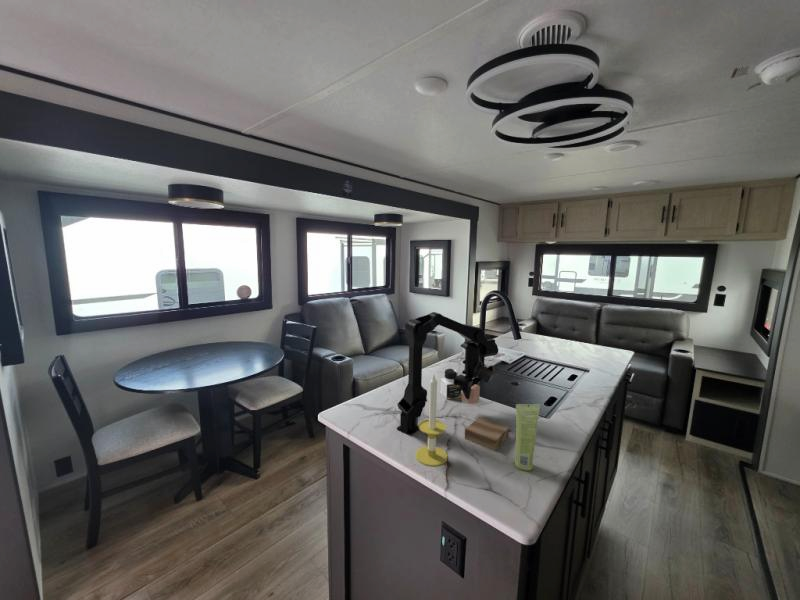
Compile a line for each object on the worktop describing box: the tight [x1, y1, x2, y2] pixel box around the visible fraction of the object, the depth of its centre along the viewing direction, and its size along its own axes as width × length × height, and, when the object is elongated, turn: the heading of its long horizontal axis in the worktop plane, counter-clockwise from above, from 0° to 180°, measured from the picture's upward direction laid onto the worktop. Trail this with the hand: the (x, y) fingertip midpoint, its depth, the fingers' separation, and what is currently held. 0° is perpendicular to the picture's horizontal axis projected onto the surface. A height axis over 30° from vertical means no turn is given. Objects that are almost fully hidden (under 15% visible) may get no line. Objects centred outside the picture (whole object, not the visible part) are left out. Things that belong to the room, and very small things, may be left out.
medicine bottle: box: [440, 368, 462, 400], centre depth 143 cm, size 7×7×12 cm
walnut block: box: [464, 417, 510, 452], centre depth 110 cm, size 11×11×4 cm
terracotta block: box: [461, 384, 481, 405], centre depth 125 cm, size 5×5×6 cm
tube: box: [514, 403, 541, 472], centre depth 94 cm, size 6×5×20 cm
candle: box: [415, 374, 448, 467], centre depth 98 cm, size 10×10×27 cm
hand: (470, 396), depth 125 cm, fingers closed on terracotta block, 5 cm apart
